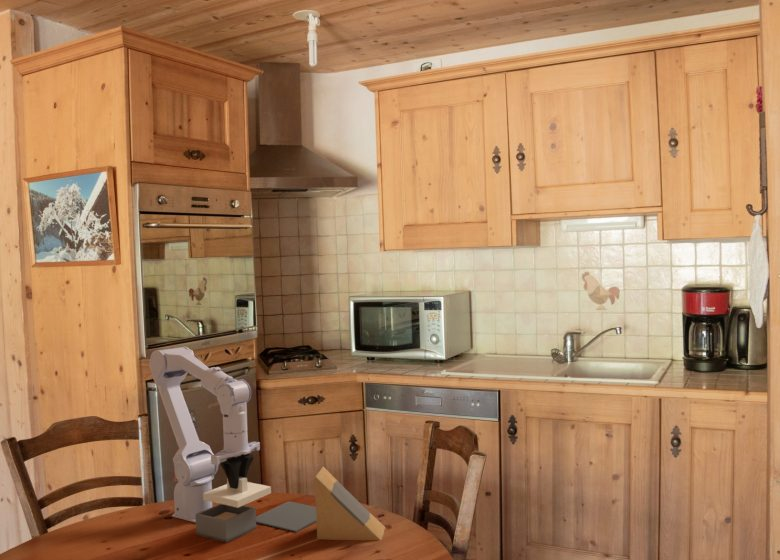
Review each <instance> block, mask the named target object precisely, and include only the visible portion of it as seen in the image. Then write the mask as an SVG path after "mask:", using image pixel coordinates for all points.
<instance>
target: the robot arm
mask: <svg viewBox="0 0 780 560" xmlns="http://www.w3.org/2000/svg"><path fill="white" fill-rule="evenodd" d="M148 367H149V371H150V374H151V377H152V379H153V383H154V384H155V385H156V386H157V390H158V392H159V395H160V397H161V401H162V404H163V407H164V409H165V413H166V416H167V417H168V418H167V419H168V421H169V425H170V427H171V429H172V433H173V435H174V438H175V441H176V444H177V446H178V449H177V451H176V453H175V454H174V455H173V458H172V461H173V467H174V476H175V478H176V480H177V481H178V482H177V483H176V485H175V486H174V490H173V499H174V500H173V504H174V507H173V508H174V513H173V514H172V515H171V517H172V518H176V519H180V520H185V521H189V522H192V523H195V524H196V514H197V513H199V512H202V511H204V510H206V509H209V508H211V507H213V502H211V501H206V500H203V493H205V492H208V491H210V490H213V485H212V482H213V481H212V480H214V479H215V475H216V474H217V473H218V470H219V465H220V466H221V468H222V470H223V472H224V473H225V476H226V480H227V479H228V482H229V486H230V488H234V489H237V488H238V483H239V477H244V478H247V476H248V472H249V469H250V466H251V464H252V462H253V461H254V455H253V454H250V453H252V452H257V451H260V450H261V443H260V441H251V442H249V440H248V439H249V437H248V436H249V435H248V407H247V406H248V405H247V404H248V402H249V401H250V400H251V398H252V388H251V386H250V383H248V382H247V381H246V380H245V379H243V378H242V379H241V378H239V379H235V378H234V377H233V376H232V375H229V374H227V373H225V372H224V371H223V370H222V368H221V367H219V366H216V367H215V366H213V367H209V366H207V365H206V364H205V363H203V362H202V361H201V360H200V359H198V358H197V357H196V356H195V354H194V351H193V349H190V348H189V347H188V346H186V345H185V346H181V347H174V348H168V349H167V348H166V349H156V350H155V349H154V351H152V353H151V354H150V357H149V363H148ZM188 374H189V375H191V376H192V377H195V378H196V379H198V380H200V384H201V386H202V387H203V389H205V390H207V391H208V392H209V393H211V394H212V395H214V396H216V400H217V402H218V404H219V408H220V413H221V414H222V426H223V427H222V431H223V449H222V450H220V451H218V452H217V453H215V454H214V453H213V451H212V448H211V447H210V445H209V444H207V443H205V442H203V441H201V440H200V438H199V436H198V432H197V431H196V428H195V424H194V422H193V418H192V417H191V414H190V411H189V408H188V405H187V403H186V401H185V397H184V395H183V391H182V388H181V383H182V382H183V381H184V380H185V379H186V377H187V375H188Z"/></svg>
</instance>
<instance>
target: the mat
mask: <svg viewBox="0 0 780 560" xmlns="http://www.w3.org/2000/svg"><path fill="white" fill-rule="evenodd" d="M315 523H317V519H316V506H314V505H313V506H312V505H310V504H309V505H308V504H303V503H299V502H293V501H289V500H288V501H286V502H283V503H281V504H280V505H277V506H275V507H273V508H271V509H269V510H267V511H265V512H263V513H261V514H259V515H256V524H259V525H264V526H267V525H268V527H271V526H272V528H276V529H279V530H280V529H281V530H284V529H285V530H286V531H288V530H289V532H292V531H293V533H298V532H300V531H302V530H304V529H305V528H308V527H309V526H311V525H313V524H315Z"/></svg>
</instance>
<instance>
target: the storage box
mask: <svg viewBox="0 0 780 560" xmlns="http://www.w3.org/2000/svg"><path fill="white" fill-rule="evenodd" d="M256 509H257V507H254V506H249V505H246V504H245V505H243V506H241V507H238V508H237V507H232V506H228V505H224V504H219V503H217V504H216V505H212V507H211V508H209V509H206V510H204V511H202V512H199V513H197V514H196V523H195V535H197V536H200V537H204V538H206V539H211V540H215V541H219V542H222V543H229V542H231V541H233V540H234V539H237V538H239V537H242V535H245V534H247V533H249V532H251V531H253V530H255V529H257V523H256V516H257V512H256Z"/></svg>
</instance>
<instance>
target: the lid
mask: <svg viewBox="0 0 780 560" xmlns="http://www.w3.org/2000/svg"><path fill="white" fill-rule="evenodd" d="M270 494H272V486H269V485H266V484H261V483H254V482H250V481H248V478H247V477H246V478H244V477H239V483H238V488H237V489H234V488H230V486H229V482H228V479H227V478H226V484H224V485H221V486H218V487H216V488H212V490H210V491H208V492H205V493H203V500H206V501H211V502H212V503H216V504H224V505H228V506H232V507H237V508H238V507H241V506H243V505H245V506H246V505H247V504H250V503H251V502H255V501H257V500H258V499H259V500H260V498H263V497H266V496H268V495H270Z"/></svg>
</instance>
